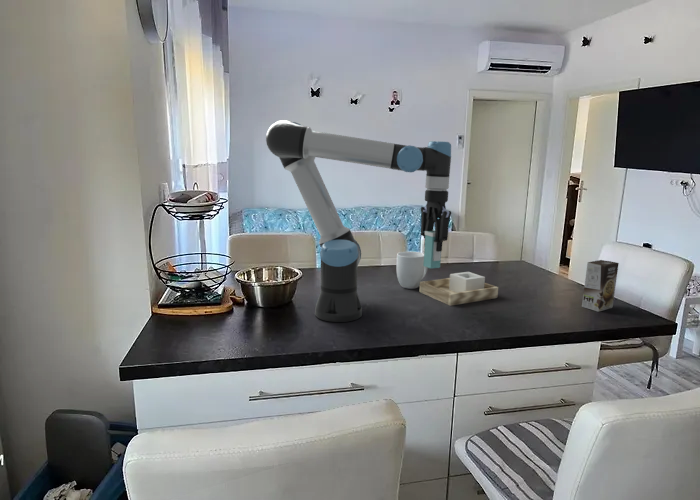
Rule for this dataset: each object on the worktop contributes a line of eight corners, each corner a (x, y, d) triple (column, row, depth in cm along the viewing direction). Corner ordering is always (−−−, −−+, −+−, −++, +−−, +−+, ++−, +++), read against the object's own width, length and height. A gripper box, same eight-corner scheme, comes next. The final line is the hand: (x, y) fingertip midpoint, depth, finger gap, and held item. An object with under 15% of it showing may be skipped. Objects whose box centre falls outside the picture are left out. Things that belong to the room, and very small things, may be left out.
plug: (430, 268, 158) (432, 233, 155) (422, 265, 161) (424, 231, 159) (440, 267, 160) (443, 232, 157) (432, 264, 163) (435, 230, 161)
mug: (415, 280, 196) (417, 249, 194) (436, 285, 188) (437, 253, 185) (389, 285, 187) (390, 253, 184) (410, 292, 179) (411, 258, 176)
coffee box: (599, 312, 159) (605, 265, 156) (581, 307, 165) (586, 261, 161) (613, 307, 164) (619, 262, 161) (595, 302, 169) (601, 258, 166)
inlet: (465, 295, 172) (466, 279, 171) (449, 289, 180) (450, 274, 178) (483, 292, 176) (485, 277, 175) (467, 286, 184) (468, 271, 183)
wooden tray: (450, 305, 163) (450, 294, 163) (419, 292, 179) (419, 281, 178) (497, 297, 173) (498, 287, 173) (464, 285, 189) (465, 275, 188)
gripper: (463, 191, 150) (457, 263, 154) (430, 187, 164) (426, 253, 169) (444, 191, 146) (439, 265, 151) (412, 187, 161) (408, 254, 166)
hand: (432, 258), depth 160 cm, fingers closed on plug, 4 cm apart
